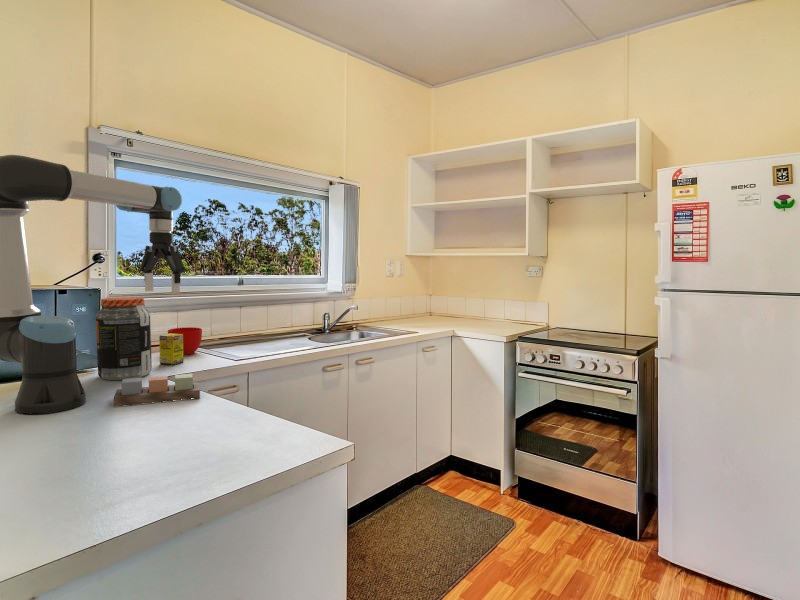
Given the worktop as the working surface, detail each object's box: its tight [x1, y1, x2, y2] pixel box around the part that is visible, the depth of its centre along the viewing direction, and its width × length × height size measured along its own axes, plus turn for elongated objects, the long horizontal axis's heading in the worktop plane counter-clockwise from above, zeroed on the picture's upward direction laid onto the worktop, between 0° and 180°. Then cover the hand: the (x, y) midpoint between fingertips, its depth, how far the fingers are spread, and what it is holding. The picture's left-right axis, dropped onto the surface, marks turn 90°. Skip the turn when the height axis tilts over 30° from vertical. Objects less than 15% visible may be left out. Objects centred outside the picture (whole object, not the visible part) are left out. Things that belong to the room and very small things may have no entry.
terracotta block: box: [148, 375, 169, 393], centre depth 136 cm, size 5×5×4 cm
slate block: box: [120, 377, 143, 395], centre depth 133 cm, size 5×5×4 cm
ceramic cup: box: [167, 326, 203, 356], centre depth 199 cm, size 13×17×10 cm
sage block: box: [174, 373, 194, 390], centre depth 138 cm, size 5×5×4 cm
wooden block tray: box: [113, 382, 201, 407], centre depth 136 cm, size 21×9×2 cm, turn 114°
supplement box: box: [158, 333, 184, 366], centre depth 181 cm, size 6×6×11 cm
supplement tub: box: [95, 297, 153, 381], centre depth 161 cm, size 16×16×26 cm
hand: (162, 292), depth 173 cm, fingers open, 13 cm apart
